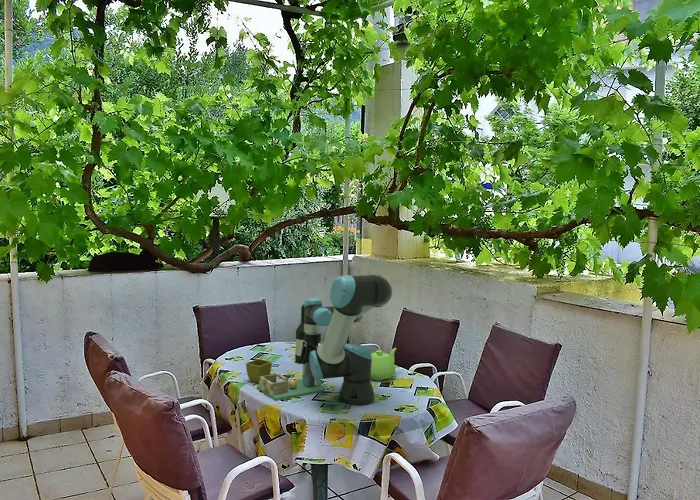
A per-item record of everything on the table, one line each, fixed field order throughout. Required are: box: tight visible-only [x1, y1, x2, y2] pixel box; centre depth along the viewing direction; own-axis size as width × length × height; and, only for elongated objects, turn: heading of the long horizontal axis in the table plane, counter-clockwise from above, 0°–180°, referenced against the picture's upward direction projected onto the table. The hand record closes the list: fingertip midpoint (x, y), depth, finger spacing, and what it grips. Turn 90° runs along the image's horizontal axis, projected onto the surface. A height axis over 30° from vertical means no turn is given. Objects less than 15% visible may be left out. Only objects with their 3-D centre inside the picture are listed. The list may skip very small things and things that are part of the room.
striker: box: [302, 362, 315, 387], centre depth 266 cm, size 5×5×10 cm
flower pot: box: [245, 358, 273, 384], centre depth 273 cm, size 9×9×9 cm
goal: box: [258, 371, 289, 395], centre depth 258 cm, size 12×8×6 cm, turn 34°
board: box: [256, 378, 325, 402], centre depth 262 cm, size 18×24×1 cm
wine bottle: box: [294, 303, 310, 365], centre depth 306 cm, size 8×8×30 cm
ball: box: [288, 378, 297, 389], centre depth 261 cm, size 4×4×4 cm
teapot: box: [371, 347, 397, 381], centre depth 285 cm, size 22×15×13 cm
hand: (311, 381), depth 267 cm, fingers open, 10 cm apart
